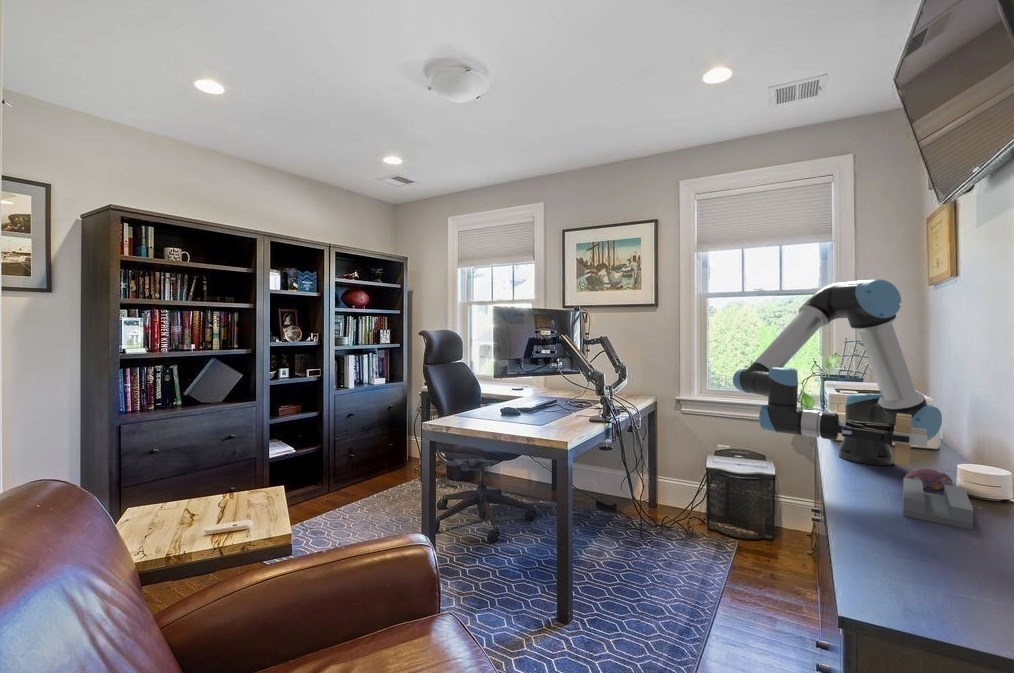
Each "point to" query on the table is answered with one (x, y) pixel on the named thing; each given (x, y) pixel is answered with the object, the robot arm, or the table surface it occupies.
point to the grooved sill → (937, 505)
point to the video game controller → (930, 478)
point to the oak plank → (903, 449)
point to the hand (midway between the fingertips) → (926, 438)
